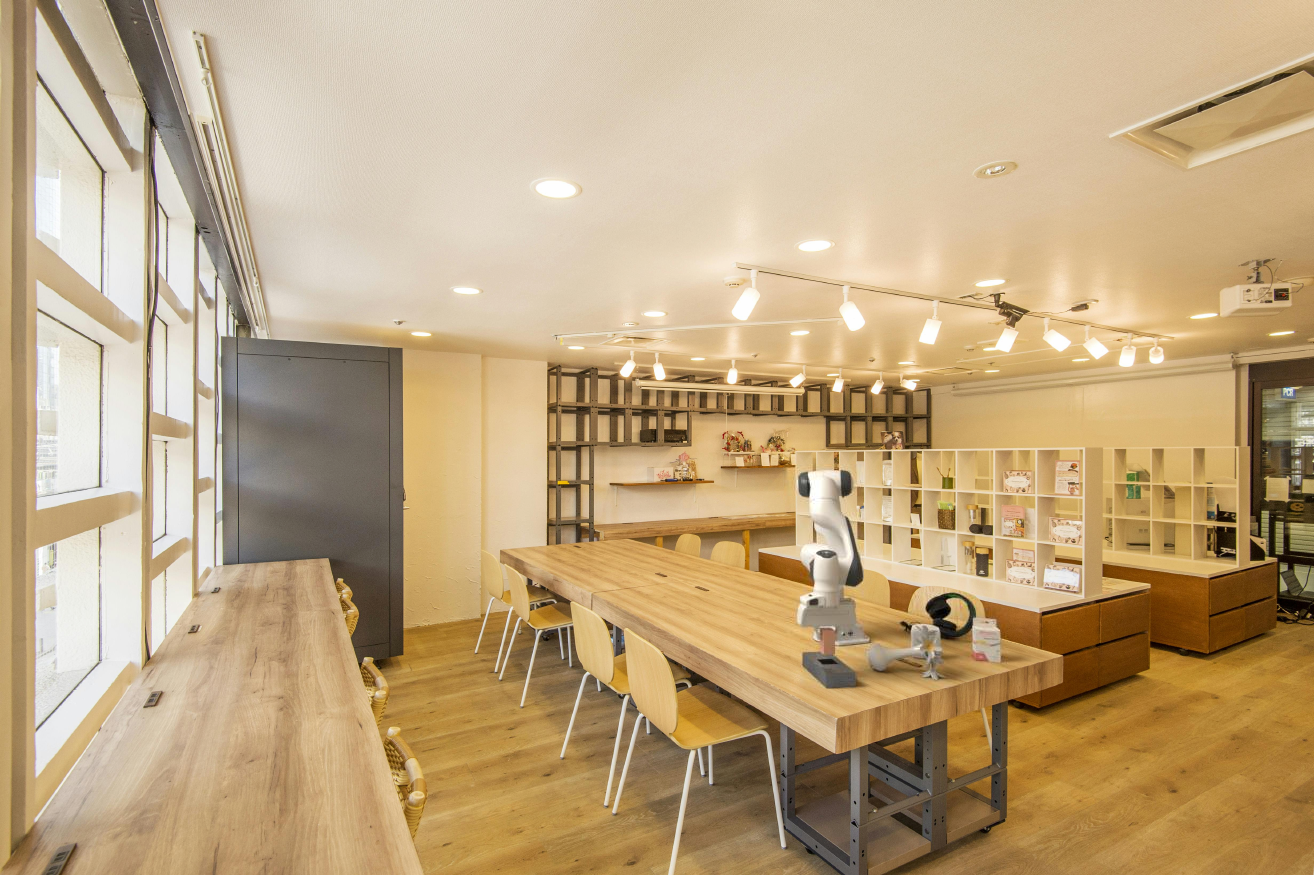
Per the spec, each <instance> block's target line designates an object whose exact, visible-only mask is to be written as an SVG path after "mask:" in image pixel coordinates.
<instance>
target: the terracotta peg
mask: <svg viewBox="0 0 1314 875" xmlns="http://www.w3.org/2000/svg"><path fill="white" fill-rule="evenodd" d="M819 633H821V634H822V640H819V641H818V642H819V643H818V645H819V648H818V650H819V651H818V652H821V653H822V654H824V655H829V654H833V655H835V654H836V645H835V630H833V629H832V628H830V627H828V628H819Z"/></svg>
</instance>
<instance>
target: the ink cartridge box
mask: <svg viewBox="0 0 1314 875" xmlns="http://www.w3.org/2000/svg"><path fill="white" fill-rule="evenodd" d="M971 631H972V633H971V634H972V636H971V637H972V641H971V642H972V646H971V647H972V657H973V658H974V660H975V661H978V662H990V663H1001V662H1002V660H1001V659H1002V658H1001V655H1002V654H1001V652H1002V651H1001V647H1002V646H1001V645H1002V644H1001V641H1002V640H1001V630H1000V629H999V628H998V627H997V619H995V618H985V617H984V618H982V617H976V618H973V626H972V629H971Z"/></svg>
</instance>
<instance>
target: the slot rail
mask: <svg viewBox="0 0 1314 875" xmlns="http://www.w3.org/2000/svg"><path fill="white" fill-rule="evenodd" d="M801 653H802V654H801V656H802V657H801V658H802V659H801V660H802V661H801V662H802V664H801V665H802V667H803V668H804V669H805V670H806V671H807V672H808V673H810V674H811V676H813V677H814V679H816V680H817V681H818V682H819V683H820V684H821V685H822V686H823V687H824V688H825V689H836V688H837V689H839V688H841V689H842V688H856V686H857V685H856V679H857V678H856V671H855V670H854V669H852V668H851V667H850V666H848V665H847V664H846V663H845V662H844V661H842V660H841V659H840V658H838V657H837V656H835V654H829V655H824V654H822V653H821V652H820V651H805V652H804V651H801Z"/></svg>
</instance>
